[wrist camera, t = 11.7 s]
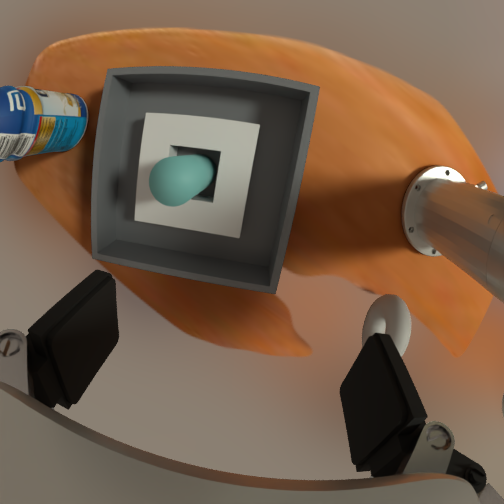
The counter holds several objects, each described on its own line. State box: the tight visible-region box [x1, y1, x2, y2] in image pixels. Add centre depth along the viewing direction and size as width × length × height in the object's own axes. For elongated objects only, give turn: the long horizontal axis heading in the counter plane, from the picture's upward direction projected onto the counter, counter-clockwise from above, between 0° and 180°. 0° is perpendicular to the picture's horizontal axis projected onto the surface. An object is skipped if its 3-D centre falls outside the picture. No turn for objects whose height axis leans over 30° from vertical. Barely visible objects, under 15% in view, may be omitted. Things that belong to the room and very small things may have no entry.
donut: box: [362, 294, 411, 356], centre depth 33 cm, size 10×3×10 cm, turn 170°
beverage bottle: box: [0, 86, 88, 162], centre depth 19 cm, size 8×8×20 cm
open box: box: [91, 66, 320, 294], centre depth 28 cm, size 22×22×6 cm
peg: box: [149, 154, 217, 207], centre depth 25 cm, size 4×4×10 cm
